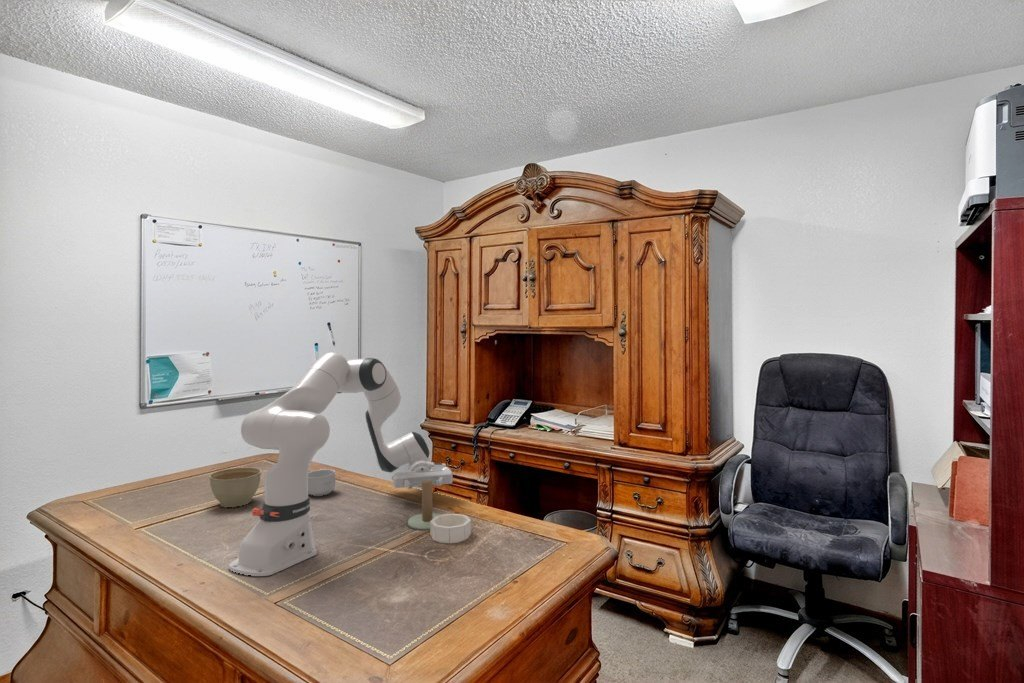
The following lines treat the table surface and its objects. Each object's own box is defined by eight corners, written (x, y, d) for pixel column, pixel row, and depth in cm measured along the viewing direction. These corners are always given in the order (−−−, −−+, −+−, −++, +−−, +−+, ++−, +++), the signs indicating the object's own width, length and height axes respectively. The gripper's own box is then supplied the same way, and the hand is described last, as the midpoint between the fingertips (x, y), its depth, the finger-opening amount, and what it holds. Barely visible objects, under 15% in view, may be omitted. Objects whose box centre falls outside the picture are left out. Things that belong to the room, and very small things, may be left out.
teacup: (329, 498, 194) (329, 476, 194) (299, 498, 195) (299, 476, 194) (342, 487, 208) (342, 466, 208) (314, 487, 209) (314, 466, 208)
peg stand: (435, 531, 161) (435, 489, 160) (400, 527, 165) (399, 485, 164) (453, 518, 172) (452, 478, 172) (419, 513, 176) (419, 474, 176)
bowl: (459, 547, 151) (459, 529, 151) (424, 542, 155) (424, 524, 155) (475, 532, 161) (475, 516, 161) (442, 528, 165) (442, 512, 165)
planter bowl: (240, 513, 180) (240, 480, 180) (198, 510, 183) (198, 478, 183) (271, 497, 196) (270, 468, 195) (232, 495, 199) (231, 466, 199)
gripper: (391, 467, 191) (392, 478, 178) (449, 463, 196) (454, 473, 182) (392, 484, 191) (392, 497, 178) (449, 480, 196) (454, 492, 183)
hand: (424, 485), depth 180 cm, fingers open, 8 cm apart
